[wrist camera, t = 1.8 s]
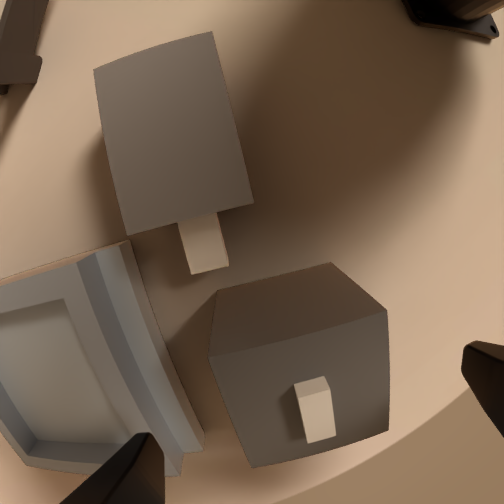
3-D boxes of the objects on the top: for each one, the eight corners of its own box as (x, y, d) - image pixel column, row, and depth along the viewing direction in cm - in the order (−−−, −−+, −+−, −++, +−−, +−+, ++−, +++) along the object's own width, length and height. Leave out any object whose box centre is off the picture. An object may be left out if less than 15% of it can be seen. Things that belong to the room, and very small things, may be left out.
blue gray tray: (129, 239, 11) (102, 255, 9) (204, 434, 13) (201, 474, 11) (-41, 294, 11) (-71, 310, 9) (33, 437, 13) (16, 463, 11)
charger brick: (330, 261, 12) (398, 319, 7) (344, 357, 13) (395, 441, 8) (217, 289, 12) (205, 371, 7) (245, 382, 13) (252, 482, 8)
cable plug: (217, 71, 10) (212, 31, 7) (259, 244, 12) (269, 268, 8) (129, 97, 10) (93, 69, 7) (170, 266, 12) (146, 298, 8)
